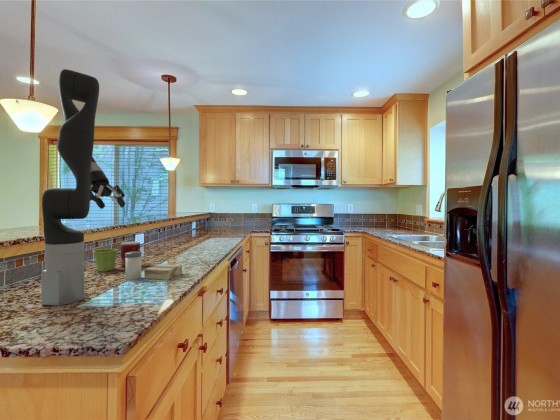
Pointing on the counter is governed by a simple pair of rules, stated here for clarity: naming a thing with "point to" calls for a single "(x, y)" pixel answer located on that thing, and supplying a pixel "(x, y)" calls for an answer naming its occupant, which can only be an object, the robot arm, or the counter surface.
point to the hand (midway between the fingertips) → (113, 206)
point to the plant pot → (105, 259)
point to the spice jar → (133, 265)
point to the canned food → (128, 250)
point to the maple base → (163, 271)
